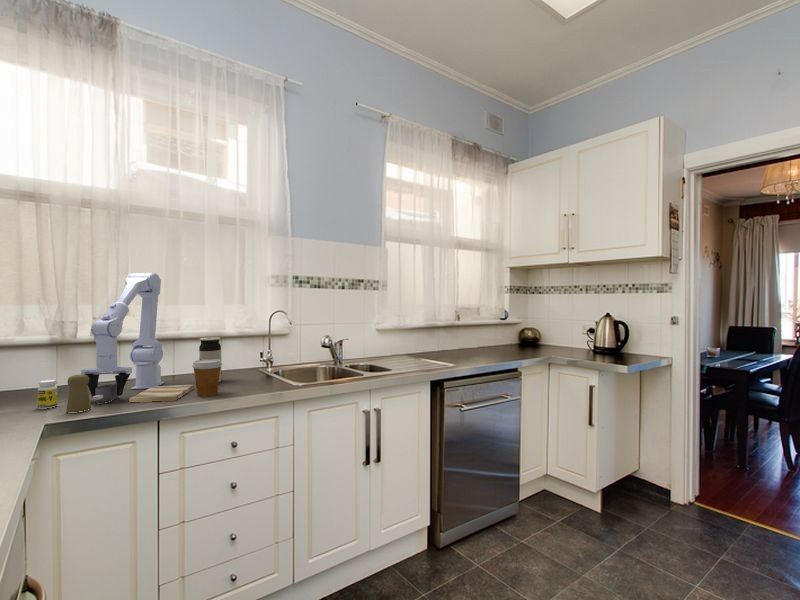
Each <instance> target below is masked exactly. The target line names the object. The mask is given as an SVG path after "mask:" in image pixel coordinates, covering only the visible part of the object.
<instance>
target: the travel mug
mask: <svg viewBox="0 0 800 600" xmlns="http://www.w3.org/2000/svg"><path fill="white" fill-rule="evenodd" d="M220 340H221V337H217V336H214V337H213V336H212V337H211V336H210V337H200V338H199V341H200V345H199V348H198V352H199V357H198V358H199V359H198V360H206V359H218V360H220V361H221V362H222V345H221V343H220ZM221 381H222V366H221V367H220V375H219V383H220V382H221Z"/></svg>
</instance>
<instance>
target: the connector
mask: <svg viewBox="0 0 800 600" xmlns="http://www.w3.org/2000/svg"><path fill="white" fill-rule="evenodd" d="M116 398H118V399H119V396H117V384H116V382H110V383H109V382H108V383H105V384H102V385H100V386H99V385H98V387H97V388H96V395H95V396H93V397H92V396H91V400H92V401H95V404H96V403H105V402H109V401H111V400H114V399H116ZM116 400H117V399H116ZM114 401H115V400H114ZM111 402H112V401H111ZM109 403H110V402H109ZM105 404H106V403H105Z"/></svg>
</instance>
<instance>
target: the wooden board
mask: <svg viewBox="0 0 800 600" xmlns="http://www.w3.org/2000/svg"><path fill="white" fill-rule="evenodd" d="M194 386H195V385H194V384H180V385H179V384H178V385H176V384H175V385H159V386H153V387H151V388H146V390H143V391H141V392H140V393H138V394H135V395H134V396H131V397H130V398H129V403H130V402H140V403H153V402H152V401H162V402H175V401H174V400H176V401H177V399H178V398H179V399H181V398H183V395H184V396H185V395H186V393H187V394H188V393H190V392H191V391H193V390H194ZM180 397H181V398H180ZM179 399H178V400H179Z"/></svg>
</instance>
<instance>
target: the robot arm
mask: <svg viewBox="0 0 800 600" xmlns="http://www.w3.org/2000/svg"><path fill="white" fill-rule="evenodd" d="M124 282H125V286H124V289H123V290H122V292H121V294H120V296H119V298H118V300H117V301H116V302H115V301H114V302H112V303H110V305H109V306H108V308H107V309H106V311H105V312H104V313H103V315H102V317H101V318H100V319H98V320H97V321H94V322H93V324H92V326H91V328H90V331H91V334H92V335H93V341H94V342H95V353H96V355H95V356H96V357H95V358H96V359H95V360H96V361H95V363H96V365H95V366H96V367H92V368H83V369H81V370H80V374H82V375H87V376H88V377H89V383H88V384H87V388H88V391H89V392H90V395H91V398H92V397H93V396H95V395H96V388H97V387H99V379H100V375H114V378H115V383H116V384H117V396H118V397H120V396H122V395H123V393H124V390H125V386H126V385H127V384H126V383H127V381H128V380H129V378H130V376H131V374H132V373H133V367H132V366H129V367H128V366H127V367H126V366H118V336H119V335H120V334H121V333H122V329H123V328H122V326H123V321H124V320H125V319H126V317H127V315H128V313H129V312H130V308H129V306H130V304H131V303H132V302H133V300H134V299H135V297H136V296H137V295H138V296H140V297H141V311H140V323H139V324H140V326H139V336H138V339H137V340H135V341H134V342H133V343H132V345H131V346H132V347H131V349H130V352H129V359H130V360H131V362H132V363H133V365H134V366H135V385H134V386H132V387H130V389H131V390H135V389H136V390H138V389H139V390H141V389H149V388H151V387H153V386H162V385H163V384H164V381H162V375H161V374H162V368H161V365H160V362H161V360H162V359H163V358H164V357H163V356H164V352H163V343H161V342H160V341H159V340H157V338H156V333H157V332H156V330H157V319H158V317H157V316H158V306H159V305H158V303H159V295H161V294H160V293H161V286H162V285H161V284H162V279H161V277H160V276H159V274H158V273H156V272H130V273H128V275H126V277H125V279H124Z"/></svg>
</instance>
